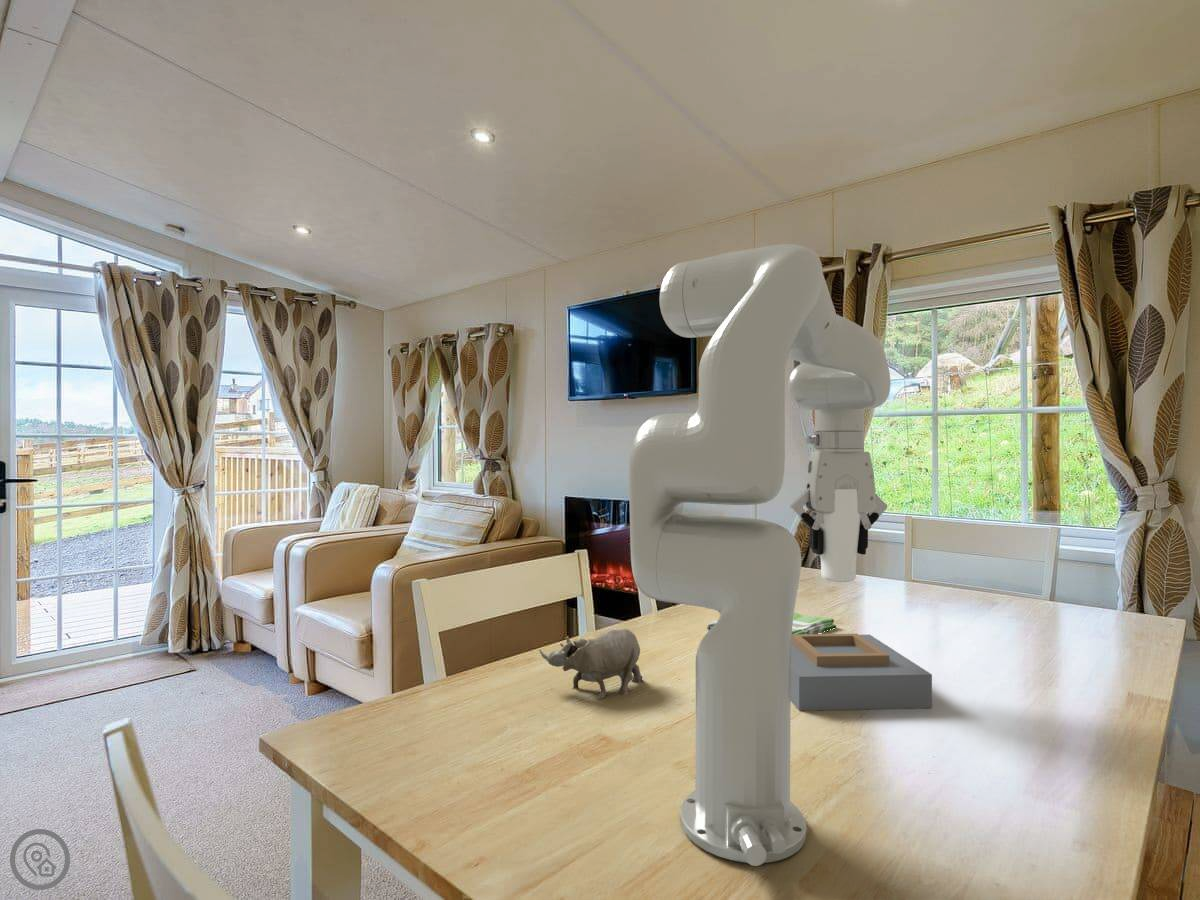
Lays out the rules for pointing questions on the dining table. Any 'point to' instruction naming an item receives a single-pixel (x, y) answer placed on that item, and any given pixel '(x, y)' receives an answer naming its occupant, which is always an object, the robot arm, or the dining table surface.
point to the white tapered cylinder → (841, 538)
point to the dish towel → (804, 624)
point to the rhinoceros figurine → (600, 659)
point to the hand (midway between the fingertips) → (838, 552)
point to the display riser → (854, 674)
